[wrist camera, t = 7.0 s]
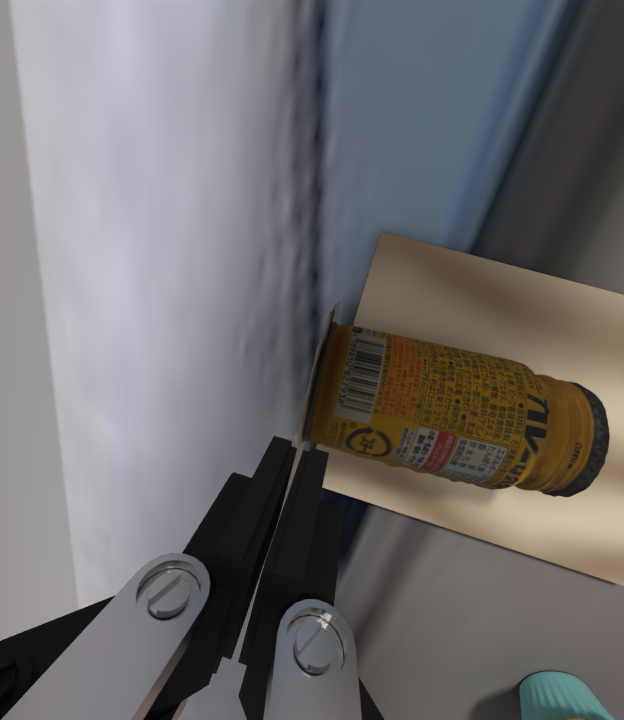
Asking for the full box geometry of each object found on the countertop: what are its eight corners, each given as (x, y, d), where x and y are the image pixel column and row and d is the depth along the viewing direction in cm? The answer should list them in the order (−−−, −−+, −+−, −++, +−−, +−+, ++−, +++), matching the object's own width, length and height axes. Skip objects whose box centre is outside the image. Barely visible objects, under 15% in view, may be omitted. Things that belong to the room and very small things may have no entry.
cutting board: (381, 231, 17) (381, 231, 17) (809, 344, 16) (831, 349, 15) (307, 474, 23) (305, 481, 22) (621, 576, 21) (630, 588, 21)
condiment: (312, 417, 21) (512, 465, 19) (279, 508, 12) (618, 599, 11) (336, 299, 19) (559, 345, 18) (316, 317, 11) (729, 403, 9)
